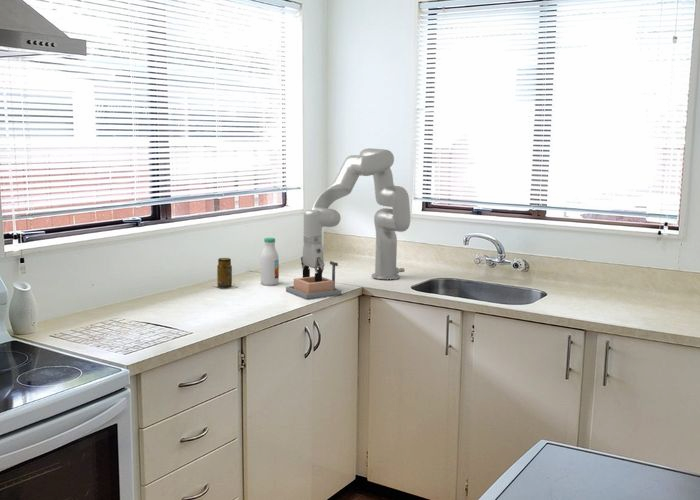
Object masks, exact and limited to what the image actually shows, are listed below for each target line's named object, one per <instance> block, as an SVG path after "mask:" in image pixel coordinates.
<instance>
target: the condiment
mask: <svg viewBox="0 0 700 500" xmlns="http://www.w3.org/2000/svg"><path fill="white" fill-rule="evenodd" d="M231 260H232V259H231V258H230V257H220V258H217V261H218V262H217V267H216V268H217V270H216V271H217V273H216V275H217V276H216V277H217V281H216V282H217V284H214V285H212V286H213V287H216V288H219V289H222V290H228V289H235V288H237V286H236V285H233V284H232V283H233V267H232V261H231Z"/></svg>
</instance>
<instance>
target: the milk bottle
mask: <svg viewBox="0 0 700 500" xmlns="http://www.w3.org/2000/svg"><path fill="white" fill-rule="evenodd" d="M263 242H264V248H263V249H262V253H261V254H260V255H261V256H260V284H261V285H263V286H276V285H278V284H279V281H280V280H279V279H280V278H279V275H280V272H279V271H280V269H279V268H280V265H279V264H280V263H279V253H278V251H277V249H276V247H275V244H276V238H275V237H265V238H264V240H263Z"/></svg>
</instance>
